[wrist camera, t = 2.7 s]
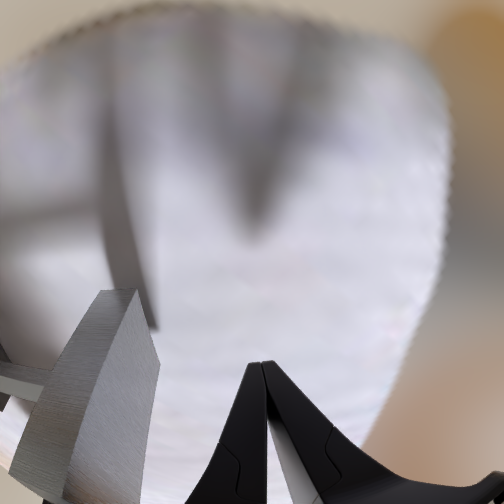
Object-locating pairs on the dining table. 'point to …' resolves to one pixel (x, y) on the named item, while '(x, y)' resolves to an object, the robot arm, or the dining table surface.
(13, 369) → the slider
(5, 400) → the tunnel
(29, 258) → the dining table surface
